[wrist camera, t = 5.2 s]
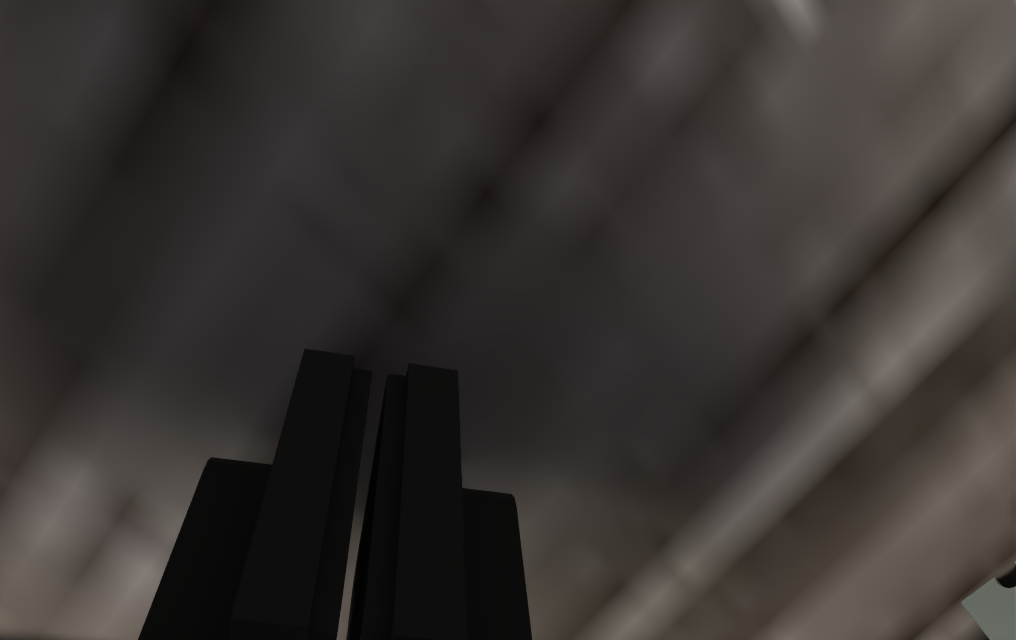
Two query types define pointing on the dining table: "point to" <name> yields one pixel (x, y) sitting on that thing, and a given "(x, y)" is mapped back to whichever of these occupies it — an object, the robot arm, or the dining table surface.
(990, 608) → the metal bracket
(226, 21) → the dining table surface
